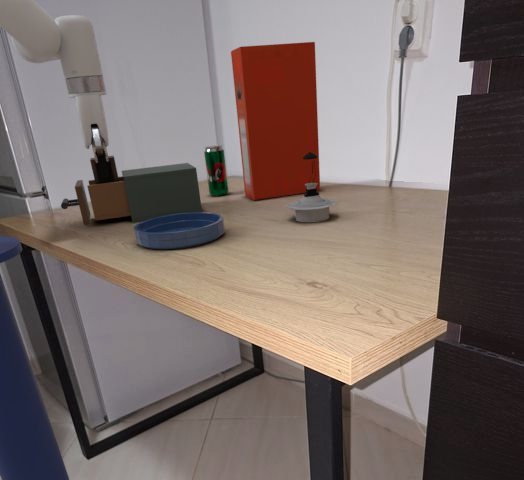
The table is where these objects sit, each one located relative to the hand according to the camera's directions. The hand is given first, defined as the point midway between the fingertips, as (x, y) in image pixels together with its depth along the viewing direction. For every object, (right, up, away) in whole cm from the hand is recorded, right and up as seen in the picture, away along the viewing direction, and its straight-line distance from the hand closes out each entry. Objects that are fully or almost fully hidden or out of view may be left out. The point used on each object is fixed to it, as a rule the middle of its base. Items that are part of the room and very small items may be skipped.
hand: (106, 179), depth 110 cm
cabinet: (+12, -6, +6) cm, 14 cm away
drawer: (-1, -7, +3) cm, 8 cm away
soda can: (+23, +3, +22) cm, 32 cm away
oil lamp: (+44, -12, -12) cm, 48 cm away
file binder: (+40, +1, +15) cm, 42 cm away
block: (0, 0, 0) cm, 0 cm away
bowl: (+19, -17, -18) cm, 31 cm away
